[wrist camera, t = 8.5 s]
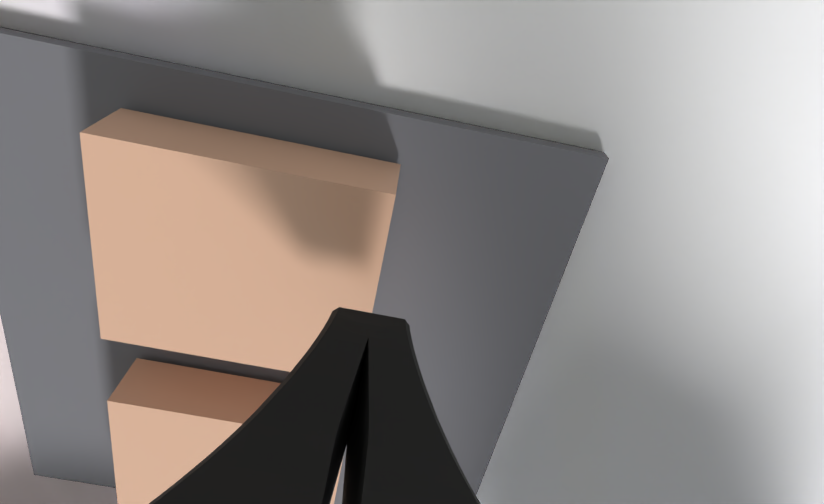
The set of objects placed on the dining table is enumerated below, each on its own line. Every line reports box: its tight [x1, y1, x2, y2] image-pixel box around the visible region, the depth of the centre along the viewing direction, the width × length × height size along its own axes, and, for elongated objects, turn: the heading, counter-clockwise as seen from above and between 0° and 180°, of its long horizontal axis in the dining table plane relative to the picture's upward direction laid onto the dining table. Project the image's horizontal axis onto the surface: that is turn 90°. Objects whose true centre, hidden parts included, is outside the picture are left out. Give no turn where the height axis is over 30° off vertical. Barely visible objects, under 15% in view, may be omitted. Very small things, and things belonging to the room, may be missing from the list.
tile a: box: [107, 358, 343, 504], centre depth 16 cm, size 2×5×6 cm
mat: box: [0, 27, 609, 504], centre depth 16 cm, size 14×14×1 cm
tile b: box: [80, 108, 401, 372], centre depth 13 cm, size 2×5×6 cm
